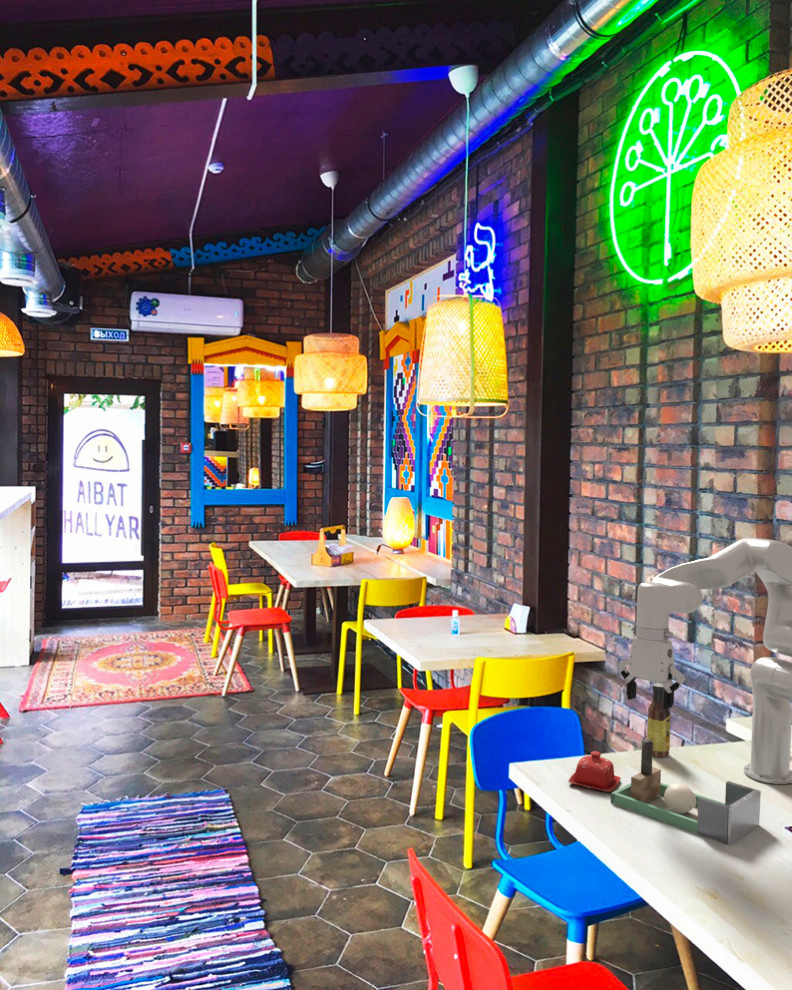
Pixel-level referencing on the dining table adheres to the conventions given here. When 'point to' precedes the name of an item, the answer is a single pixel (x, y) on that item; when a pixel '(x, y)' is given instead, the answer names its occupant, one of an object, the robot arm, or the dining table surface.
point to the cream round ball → (679, 798)
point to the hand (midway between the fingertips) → (649, 703)
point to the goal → (729, 814)
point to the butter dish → (595, 773)
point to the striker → (646, 776)
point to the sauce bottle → (659, 723)
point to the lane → (655, 808)
